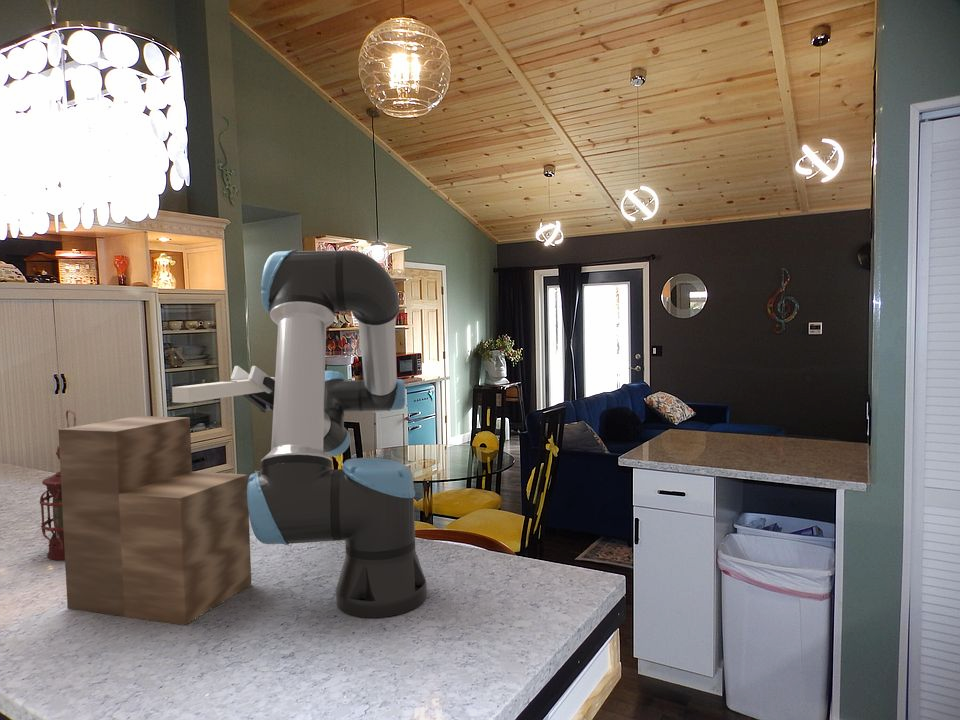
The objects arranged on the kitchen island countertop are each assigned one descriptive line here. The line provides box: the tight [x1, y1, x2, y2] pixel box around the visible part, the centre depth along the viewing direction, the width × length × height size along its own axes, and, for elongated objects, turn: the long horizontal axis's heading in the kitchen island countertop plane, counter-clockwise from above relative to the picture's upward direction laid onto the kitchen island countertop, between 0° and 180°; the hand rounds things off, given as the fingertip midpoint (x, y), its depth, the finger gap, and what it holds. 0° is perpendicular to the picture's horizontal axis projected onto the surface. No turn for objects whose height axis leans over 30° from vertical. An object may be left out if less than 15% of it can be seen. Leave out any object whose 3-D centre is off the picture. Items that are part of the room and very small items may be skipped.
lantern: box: [39, 409, 77, 561], centre depth 130 cm, size 12×12×30 cm
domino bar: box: [171, 376, 275, 404], centre depth 113 cm, size 24×3×3 cm, turn 163°
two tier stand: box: [57, 415, 252, 626], centre depth 107 cm, size 16×24×30 cm, turn 73°
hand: (243, 372), depth 117 cm, fingers closed on domino bar, 3 cm apart
